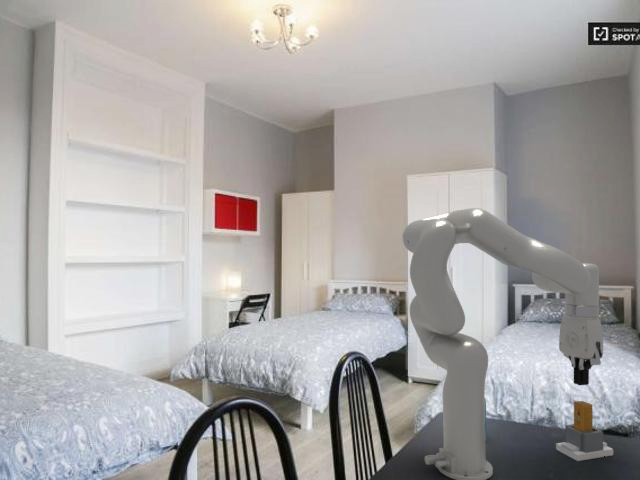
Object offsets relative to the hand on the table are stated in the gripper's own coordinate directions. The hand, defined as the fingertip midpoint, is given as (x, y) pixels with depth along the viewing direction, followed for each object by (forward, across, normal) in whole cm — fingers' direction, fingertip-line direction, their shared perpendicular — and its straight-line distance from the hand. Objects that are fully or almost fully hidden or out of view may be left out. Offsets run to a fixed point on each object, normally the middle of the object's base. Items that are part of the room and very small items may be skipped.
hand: (581, 384), depth 122 cm
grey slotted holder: (+17, 0, +1) cm, 17 cm away
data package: (+18, -19, -19) cm, 32 cm away
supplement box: (+15, 0, +1) cm, 15 cm away
